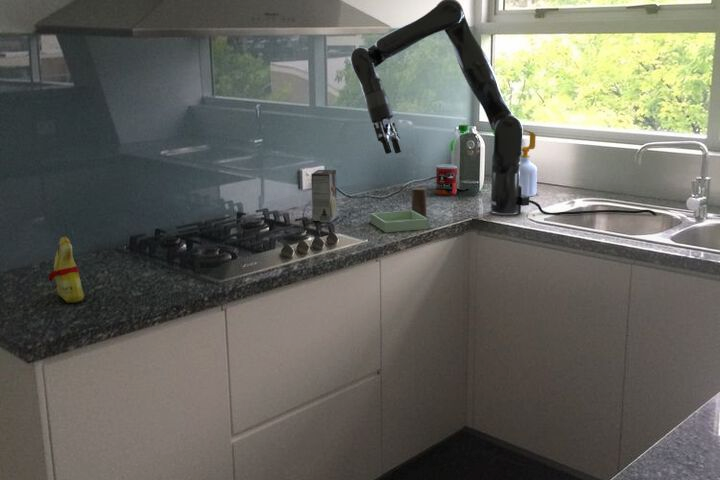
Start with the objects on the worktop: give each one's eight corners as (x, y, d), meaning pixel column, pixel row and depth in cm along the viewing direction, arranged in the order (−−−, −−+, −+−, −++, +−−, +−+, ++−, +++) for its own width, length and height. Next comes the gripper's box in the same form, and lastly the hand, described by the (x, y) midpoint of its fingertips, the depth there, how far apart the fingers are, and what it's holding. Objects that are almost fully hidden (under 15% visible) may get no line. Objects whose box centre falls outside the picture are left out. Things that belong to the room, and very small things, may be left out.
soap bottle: (507, 193, 317) (510, 128, 311) (529, 191, 319) (532, 127, 313) (517, 197, 308) (520, 131, 302) (540, 196, 310) (543, 130, 304)
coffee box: (319, 216, 281) (317, 169, 277) (337, 216, 279) (336, 169, 276) (312, 222, 272) (310, 173, 268) (331, 222, 271) (330, 174, 267)
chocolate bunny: (73, 290, 202) (67, 230, 199) (88, 301, 194) (82, 239, 190) (44, 295, 198) (38, 235, 195) (58, 307, 190) (52, 244, 186)
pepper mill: (423, 216, 279) (423, 186, 277) (428, 219, 275) (428, 189, 272) (409, 217, 278) (409, 187, 275) (414, 220, 273) (415, 190, 271)
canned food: (432, 195, 314) (432, 166, 312) (442, 191, 321) (442, 163, 318) (450, 196, 310) (451, 167, 308) (460, 193, 317) (460, 164, 314)
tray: (412, 219, 275) (412, 210, 274) (428, 228, 261) (428, 219, 260) (370, 222, 270) (370, 213, 270) (385, 232, 257) (385, 222, 256)
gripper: (380, 101, 266) (396, 149, 266) (396, 103, 279) (411, 148, 279) (360, 110, 269) (375, 157, 269) (377, 111, 282) (392, 156, 282)
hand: (394, 152), depth 274 cm, fingers open, 8 cm apart
